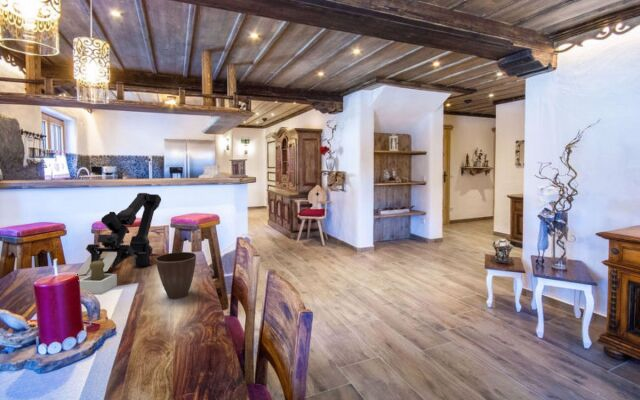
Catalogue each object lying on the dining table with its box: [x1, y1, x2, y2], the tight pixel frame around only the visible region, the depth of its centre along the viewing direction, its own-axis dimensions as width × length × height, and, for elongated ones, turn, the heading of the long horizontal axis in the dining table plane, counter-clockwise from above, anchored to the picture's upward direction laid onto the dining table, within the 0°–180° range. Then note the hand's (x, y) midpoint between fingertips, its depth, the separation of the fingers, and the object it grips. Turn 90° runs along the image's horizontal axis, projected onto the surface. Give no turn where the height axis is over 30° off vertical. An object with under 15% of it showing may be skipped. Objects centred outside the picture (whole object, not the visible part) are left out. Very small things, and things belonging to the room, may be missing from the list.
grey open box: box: [79, 273, 118, 295], centre depth 145 cm, size 10×10×5 cm
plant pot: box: [155, 251, 197, 300], centre depth 138 cm, size 15×15×16 cm
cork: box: [90, 261, 105, 281], centre depth 145 cm, size 6×6×11 cm
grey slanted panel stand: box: [75, 252, 117, 276], centre depth 170 cm, size 16×9×15 cm
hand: (102, 267), depth 148 cm, fingers open, 9 cm apart
